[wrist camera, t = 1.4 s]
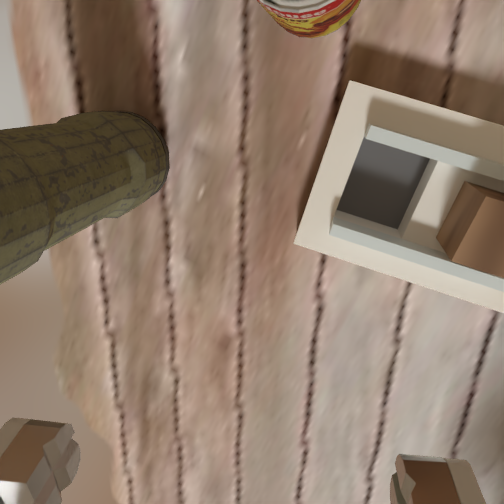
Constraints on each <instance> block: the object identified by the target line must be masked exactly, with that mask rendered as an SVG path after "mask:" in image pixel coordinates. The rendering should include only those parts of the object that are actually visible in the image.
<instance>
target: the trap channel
mask: <svg viewBox="0 0 504 504" xmlns="http://www.w3.org/2000/svg"><path fill="white" fill-rule="evenodd" d="M464 181H467V182H470V183H473V184H477V185H480V186H483V187H486V188H490V189H493V190H496V191H499V192H503V193H504V126H503V125H500V124H496V123H493V122H489V121H486V120H483V119H479V118H476V117H473V116H469V115H466V114H462V113H459V112H456V111H452V110H449V109H446V108H442V107H439V106H435V105H432V104H429V103H425V102H422V101H418V100H415V99H412V98H408V97H405V96H402V95H398V94H395V93H391V92H388V91H385V90H381V89H378V88H375V87H371V86H368V85H364V84H361V83H358V82H354V81H351V80H349V82H348V85H347V87H346V90H345V93H344V96H343V99H342V102H341V105H340V108H339V111H338V114H337V117H336V120H335V122H334V125H333V128H332V131H331V134H330V137H329V140H328V143H327V146H326V149H325V152H324V154H323V157H322V160H321V163H320V166H319V169H318V172H317V175H316V178H315V181H314V184H313V187H312V189H311V192H310V195H309V198H308V201H307V204H306V207H305V210H304V213H303V216H302V219H301V222H300V224H299V227H298V230H297V233H296V237H295V240H294V244H296V245H299V246H302V247H305V248H308V249H311V250H314V251H317V252H320V253H323V254H326V255H329V256H332V257H335V258H338V259H341V260H344V261H347V262H350V263H354V264H357V265H360V266H363V267H366V268H369V269H372V270H375V271H378V272H381V273H384V274H387V275H390V276H393V277H396V278H399V279H402V280H405V281H408V282H411V283H414V284H417V285H420V286H423V287H426V288H429V289H432V290H435V291H438V292H441V293H444V294H447V295H450V296H453V297H456V298H459V299H462V300H465V301H468V302H471V303H474V304H477V305H480V306H483V307H486V308H489V309H492V310H495V311H498V312H501V313H504V278H502V277H499V276H496V275H493V274H490V273H486V272H483V271H480V270H477V269H474V268H471V267H468V266H465V265H462V264H459V263H456V262H453V261H451V260H450V259H449V257H448V255H447V254H446V252H445V251H444V249H443V248H442V246H441V245H440V243H439V242H438V240H437V239H436V236H437V234H438V232H439V230H440V228H441V226H442V224H443V222H444V221H445V219H446V217H447V215H448V213H449V211H450V209H451V207H452V205H453V203H454V201H455V199H456V197H457V195H458V193H459V191H460V189H461V187H462V185H463V183H464Z"/></svg>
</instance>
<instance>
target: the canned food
mask: <svg viewBox="0 0 504 504" xmlns="http://www.w3.org/2000/svg"><path fill="white" fill-rule="evenodd" d="M257 1H258V2H259V3H260V4H261V6H262V7H263V8H264V9H265V10H266V11H267V12H268V13H269V14H270V15H271V16H272V18H273V19H274V20H275V21H276V22H277V23H278V24H279V25H280V26H281V27H283V28H284V29H285V30H286V31H287V32H289V33H292V34H294V35H296V36H299V37H305V38H316V37H322V36H326V35H328V34H330V33H332V32H334V31H336V30H338V29H339V28H340V27H341V26H342V25H344V24H345V23H346V22H347V21H348V20H349V19H350V18H351V16H352V15H353V14H354V12H355V11H356V9H357V8H358V6H359V4H360V1H361V0H257Z"/></svg>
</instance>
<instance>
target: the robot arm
mask: <svg viewBox="0 0 504 504" xmlns="http://www.w3.org/2000/svg"><path fill="white" fill-rule="evenodd" d="M73 434H74V430H73V427H72V425H71V424H68V423H58V422H50V421H41V420H33V419H23V418H12V419H10V420H9V421H7V422H6V423H5V424H4V425H3V427H2V428H1V429H0V504H61V502H62V498H61V491H62V490H63V489H65V488H66V487H67V486H68V485H70V484H71V483H72V481H73V479H74V477H75V475H76V473H77V470H78V466H79V462H80V448H79V445H78V443H77V442H75V441H74V440H73V439H72V436H73ZM395 466H396V471H397V472H396V473H395V474H393V475H392V478H391V483H390V501H391V504H486V502H485V500H484V497H483V495H482V492H481V490H480V487H479V485H478V482H477V480H476V477H475V475H474V472H473V470H472V467H471V465H470V464H469V463H468V462H467V461H466V460H460V459H445V458H442V457H431V456H418V455H405V454H399V455H398V456H397V458H396V462H395Z"/></svg>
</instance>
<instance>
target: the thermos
mask: <svg viewBox="0 0 504 504" xmlns="http://www.w3.org/2000/svg"><path fill="white" fill-rule="evenodd" d="M168 171H169V153H168V150H167V147H166V144H165V141H164V139H163V137H162V136H161V134H160V133H159V131H158V130H157V128H156V127H155V126H154V125H152V124H151V123H150V122H149V121H148V120H146V119H145V118H144V117H142V116H139V115H137V114H134V113H132V112H118V111H117V112H111V111H97V112H86V113H80V114H77V115H73V116H69V117H65V118H61V119H60V120H59V121H58V122H57V123H54V124H45V125H37V126H29V127H20V128H12V129H4V130H0V284H2V283H4V282H6V281H7V280H9V279H11V278H13V277H14V276H16V275H18V274H19V273H21V272H23V271H24V270H26V269H27V268H29V267H30V266H31V265H33V264H34V263H36V262H37V261H38V260H39V258H40V256H41V255H42V253H43V251H44V250H46V249H48V248H50V247H52V246H54V245H56V244H57V243H59V242H61V241H63V240H65V239H66V238H68V237H70V236H72V235H74V234H76V233H77V232H79V231H81V230H83V229H85V228H87V227H88V226H90V225H92V224H94V223H96V222H98V221H99V220H101V219H103V218H118V217H120V216H122V215H124V214H125V213H127V212H129V211H130V210H132V209H134V208H136V207H137V206H139V205H140V204H142V203H143V202H145V201H146V200H147V199H149V198H150V197H151V196H152V195H154V194H155V193H157V192H158V191H159V190H160V189H161V187H162V186H163V184H164V183H165V181H166V179H167V175H168Z"/></svg>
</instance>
